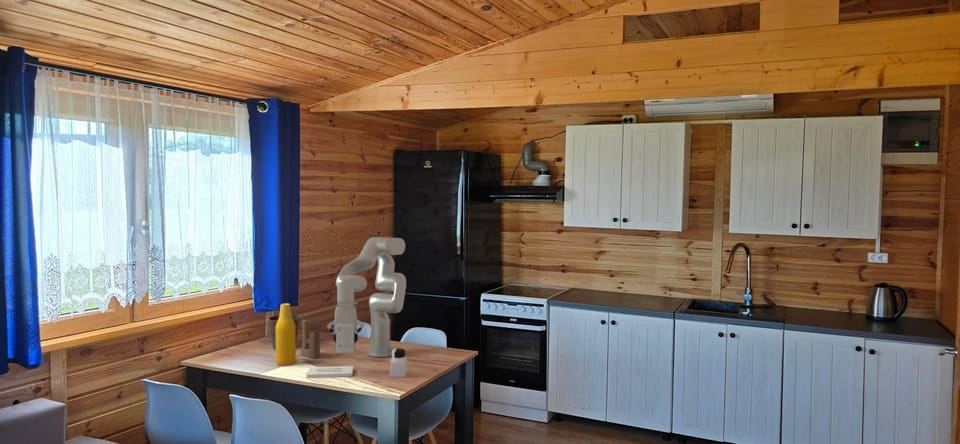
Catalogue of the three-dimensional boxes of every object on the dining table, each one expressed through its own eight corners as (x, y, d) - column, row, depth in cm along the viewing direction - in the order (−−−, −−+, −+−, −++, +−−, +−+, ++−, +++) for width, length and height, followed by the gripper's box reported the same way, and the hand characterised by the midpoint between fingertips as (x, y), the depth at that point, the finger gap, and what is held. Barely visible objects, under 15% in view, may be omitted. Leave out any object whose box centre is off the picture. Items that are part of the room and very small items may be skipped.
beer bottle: (285, 360, 320) (285, 301, 318) (299, 362, 316) (299, 303, 314) (271, 364, 312) (271, 304, 310) (286, 367, 307) (285, 306, 306)
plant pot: (291, 352, 335) (291, 321, 334) (262, 350, 338) (262, 320, 337) (305, 344, 351) (305, 315, 350) (277, 343, 354) (276, 313, 353)
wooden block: (314, 359, 322) (314, 323, 321) (300, 355, 328) (300, 320, 327) (320, 357, 325) (320, 322, 324) (306, 354, 331) (305, 319, 330)
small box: (355, 349, 301) (355, 321, 301) (353, 352, 295) (353, 324, 294) (337, 349, 301) (337, 321, 300) (335, 353, 294) (335, 324, 294)
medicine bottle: (406, 372, 299) (406, 347, 299) (405, 377, 292) (405, 351, 292) (391, 372, 299) (391, 347, 298) (389, 377, 292) (389, 351, 291)
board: (353, 369, 305) (353, 365, 305) (351, 376, 293) (351, 373, 293) (309, 370, 302) (309, 367, 302) (306, 378, 290) (306, 374, 290)
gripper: (365, 303, 302) (365, 340, 303) (327, 303, 299) (327, 340, 300) (364, 305, 294) (364, 343, 295) (325, 306, 292) (325, 344, 293)
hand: (345, 342), depth 298 cm, fingers closed on small box, 8 cm apart
